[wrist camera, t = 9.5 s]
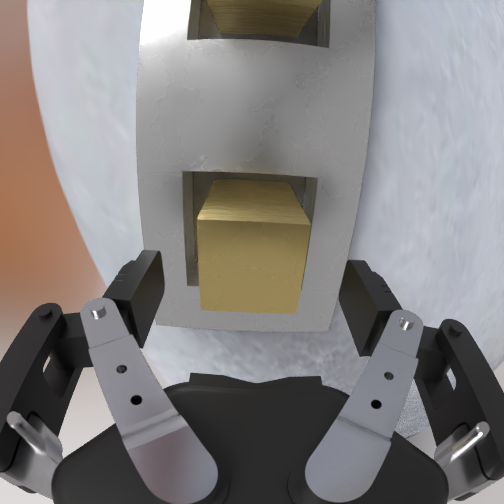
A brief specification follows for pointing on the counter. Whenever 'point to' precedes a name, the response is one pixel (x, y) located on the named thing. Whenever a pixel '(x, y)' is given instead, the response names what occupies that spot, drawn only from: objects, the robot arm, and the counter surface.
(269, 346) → the counter surface
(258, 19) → the seated brass block
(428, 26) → the counter surface
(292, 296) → the brass block
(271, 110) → the white socket board
